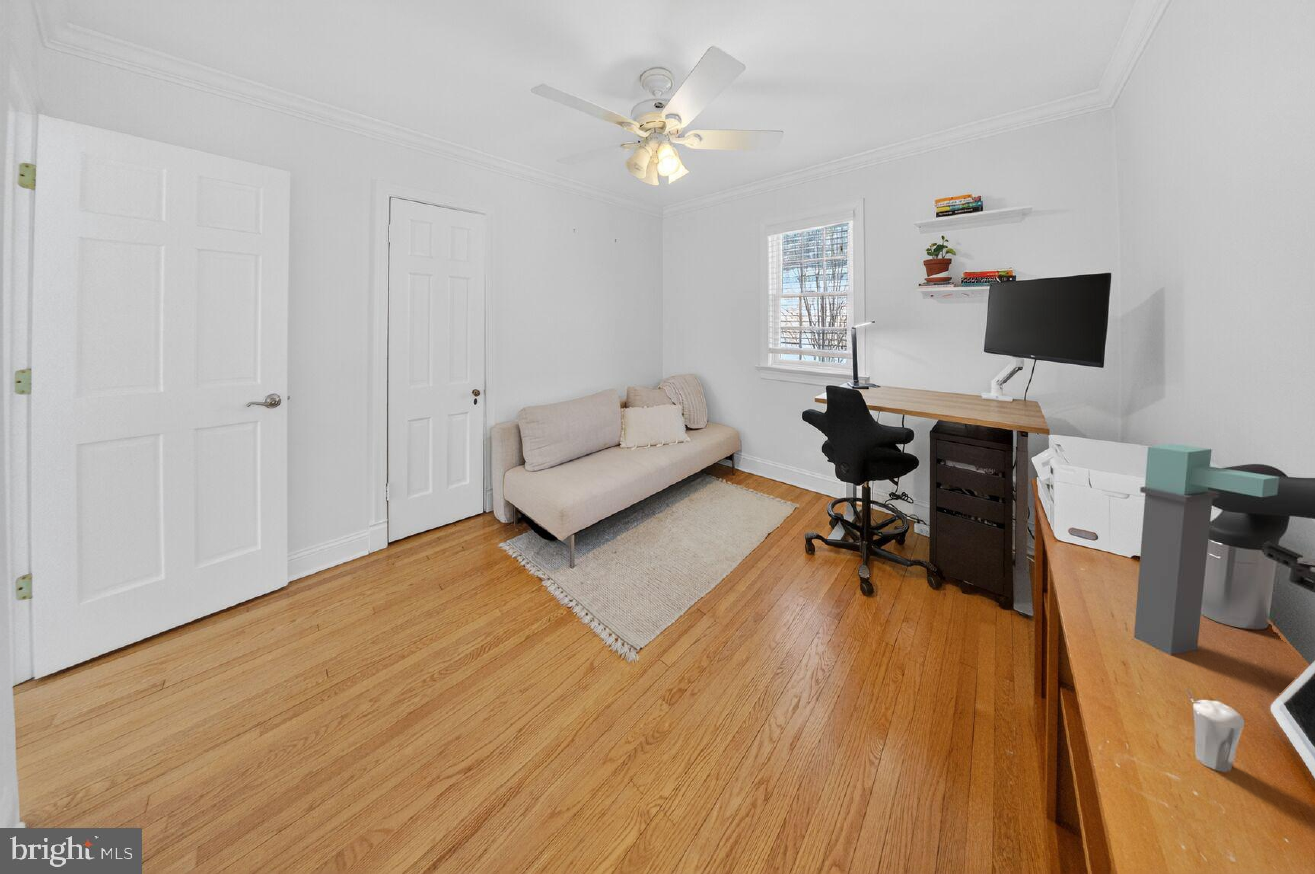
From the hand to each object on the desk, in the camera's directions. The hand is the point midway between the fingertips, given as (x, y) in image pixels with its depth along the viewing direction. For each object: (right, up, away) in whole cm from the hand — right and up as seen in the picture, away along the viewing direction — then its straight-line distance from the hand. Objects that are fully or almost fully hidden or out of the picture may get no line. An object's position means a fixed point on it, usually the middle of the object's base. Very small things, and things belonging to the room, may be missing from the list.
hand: (1293, 534), depth 66 cm
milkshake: (-14, -33, -1) cm, 36 cm away
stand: (+7, -27, +23) cm, 36 cm away
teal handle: (+4, +4, +14) cm, 15 cm away
